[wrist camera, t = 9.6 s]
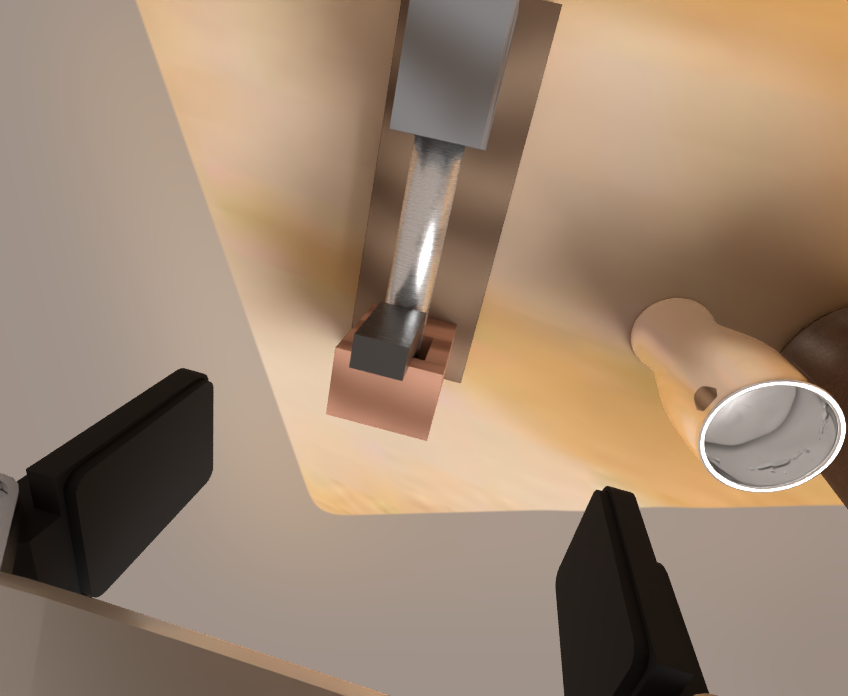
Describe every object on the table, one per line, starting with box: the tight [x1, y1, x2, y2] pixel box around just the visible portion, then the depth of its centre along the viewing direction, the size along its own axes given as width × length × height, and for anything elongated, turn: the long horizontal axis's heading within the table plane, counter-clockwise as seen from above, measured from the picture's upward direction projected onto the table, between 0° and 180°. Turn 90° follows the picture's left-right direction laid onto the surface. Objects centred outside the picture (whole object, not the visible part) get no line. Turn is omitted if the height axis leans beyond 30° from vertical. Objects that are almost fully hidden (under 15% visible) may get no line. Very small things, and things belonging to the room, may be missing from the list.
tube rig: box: [326, 0, 562, 441], centre depth 31 cm, size 27×10×11 cm, turn 168°
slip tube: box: [349, 135, 465, 381], centre depth 27 cm, size 19×3×9 cm, turn 168°
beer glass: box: [631, 298, 846, 492], centre depth 30 cm, size 7×7×15 cm
